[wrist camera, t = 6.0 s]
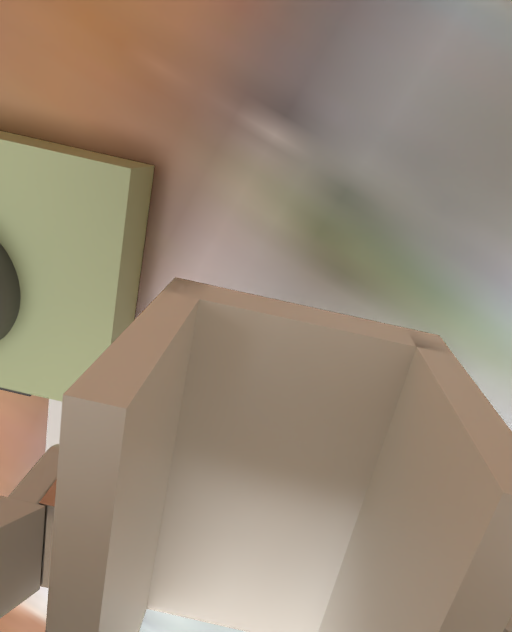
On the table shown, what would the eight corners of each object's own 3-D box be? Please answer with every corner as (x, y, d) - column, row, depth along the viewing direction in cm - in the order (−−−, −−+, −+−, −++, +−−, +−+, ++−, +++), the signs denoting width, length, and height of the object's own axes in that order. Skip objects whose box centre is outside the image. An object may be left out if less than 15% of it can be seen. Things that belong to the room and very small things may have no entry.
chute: (175, 277, 10) (63, 394, 5) (438, 335, 10) (568, 507, 5) (132, 568, 13) (32, 818, 8) (338, 615, 12) (362, 897, 8)
